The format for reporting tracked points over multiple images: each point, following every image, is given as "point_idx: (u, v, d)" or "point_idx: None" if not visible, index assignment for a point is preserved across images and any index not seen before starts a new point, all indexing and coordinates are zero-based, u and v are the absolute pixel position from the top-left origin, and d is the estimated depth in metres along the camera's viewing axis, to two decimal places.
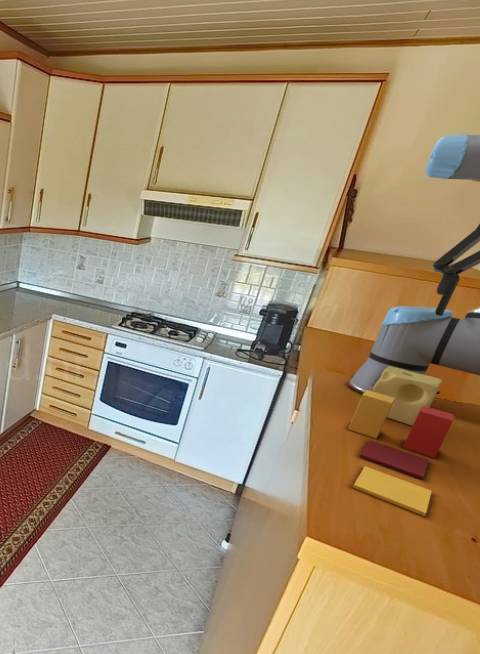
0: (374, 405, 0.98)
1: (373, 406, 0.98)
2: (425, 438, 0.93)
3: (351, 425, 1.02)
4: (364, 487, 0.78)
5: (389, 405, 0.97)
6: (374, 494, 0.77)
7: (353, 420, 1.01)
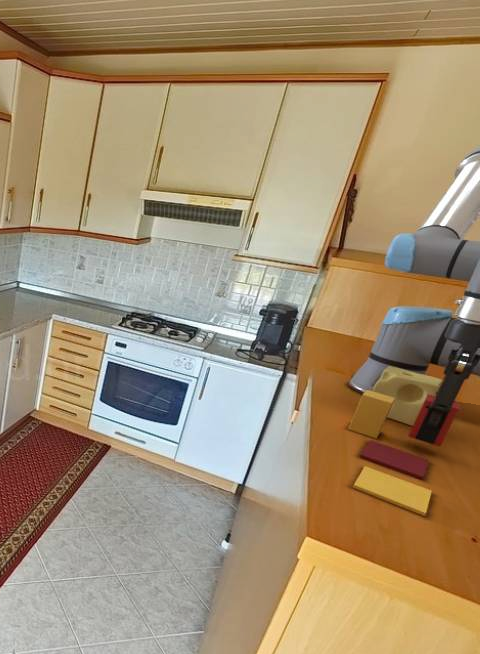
0: (374, 405, 0.98)
1: (373, 406, 0.98)
2: None
3: (351, 425, 1.02)
4: (364, 487, 0.78)
5: (389, 405, 0.97)
6: (374, 494, 0.77)
7: (353, 420, 1.01)
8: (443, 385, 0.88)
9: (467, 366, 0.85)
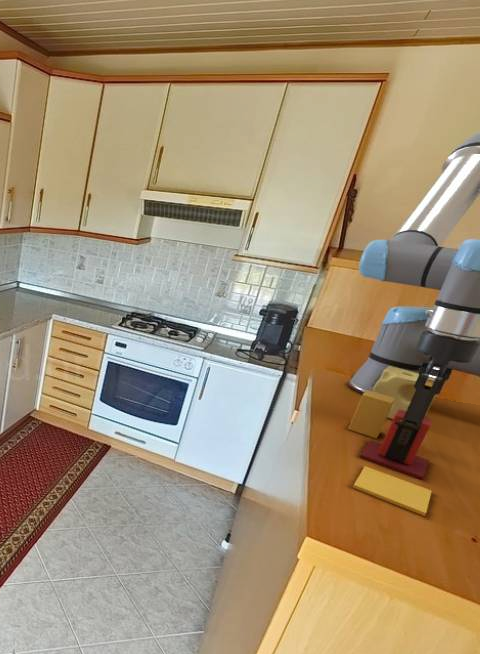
0: (374, 405, 0.98)
1: (373, 406, 0.98)
2: None
3: (351, 425, 1.02)
4: (364, 487, 0.78)
5: (389, 405, 0.97)
6: (374, 494, 0.77)
7: (353, 420, 1.01)
8: (413, 400, 0.82)
9: (437, 380, 0.79)
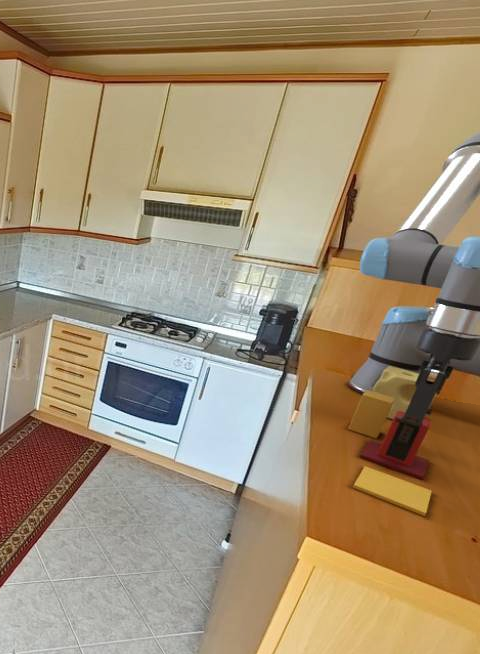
0: (374, 405, 0.98)
1: (373, 406, 0.98)
2: None
3: (351, 425, 1.02)
4: (364, 487, 0.78)
5: (389, 405, 0.97)
6: (374, 494, 0.77)
7: (353, 420, 1.01)
8: (414, 396, 0.81)
9: (440, 374, 0.79)
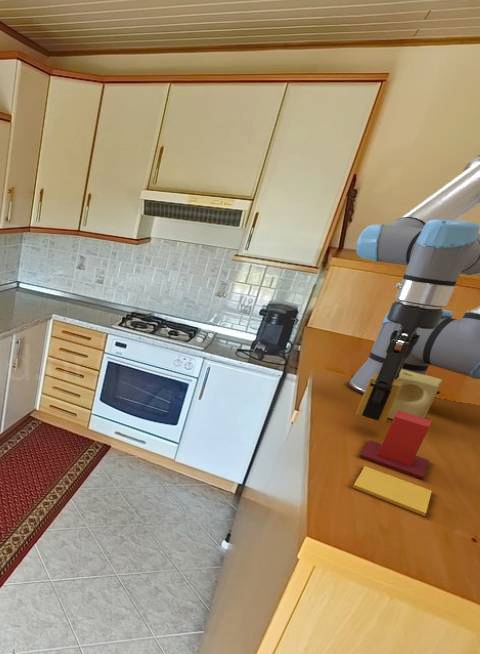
0: None
1: None
2: (400, 445, 0.88)
3: (359, 410, 1.00)
4: (364, 487, 0.78)
5: (397, 388, 0.95)
6: (374, 494, 0.77)
7: (361, 404, 1.00)
8: (384, 363, 0.93)
9: (405, 344, 0.90)
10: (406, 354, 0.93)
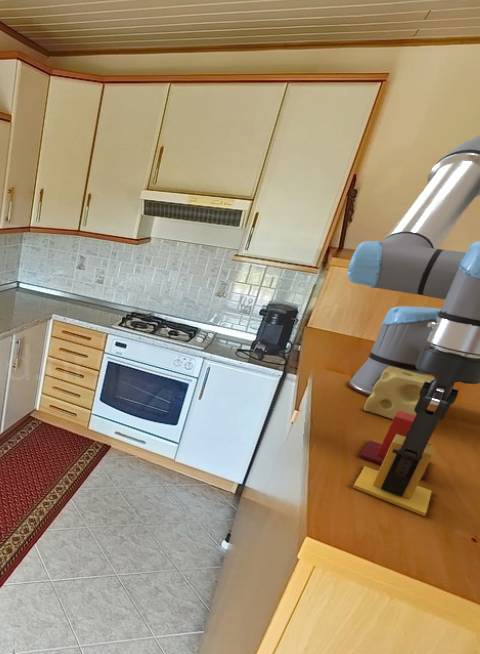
0: None
1: None
2: None
3: (377, 480, 0.79)
4: (364, 487, 0.78)
5: (428, 458, 0.74)
6: (374, 494, 0.77)
7: (379, 474, 0.78)
8: (413, 426, 0.72)
9: (441, 405, 0.69)
10: (441, 415, 0.72)
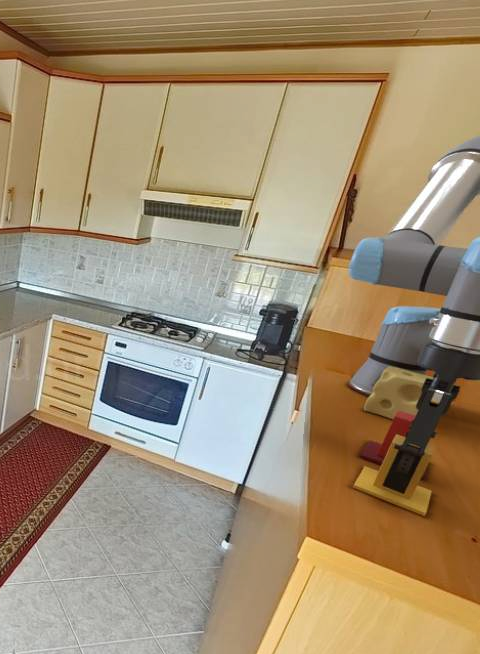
0: None
1: None
2: None
3: (376, 480, 0.79)
4: (364, 487, 0.78)
5: (428, 458, 0.74)
6: (374, 494, 0.77)
7: (379, 474, 0.78)
8: (416, 420, 0.70)
9: (446, 396, 0.68)
10: (443, 411, 0.71)
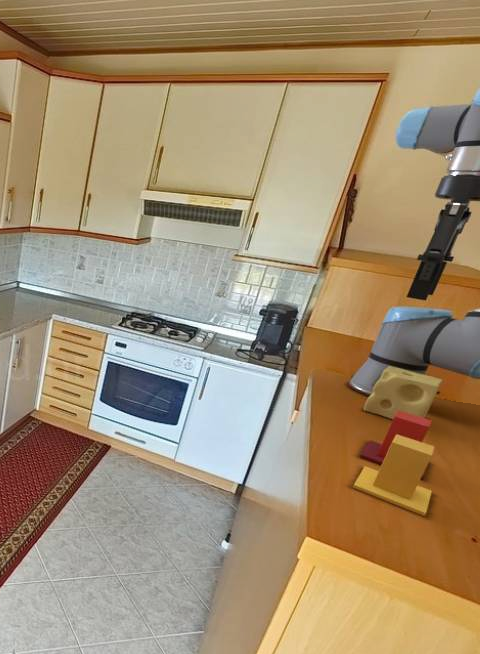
0: (408, 457, 0.75)
1: (406, 458, 0.76)
2: None
3: (376, 480, 0.79)
4: (364, 487, 0.78)
5: (428, 458, 0.74)
6: (374, 494, 0.77)
7: (379, 474, 0.78)
8: (437, 229, 0.83)
9: (462, 205, 0.81)
10: None
